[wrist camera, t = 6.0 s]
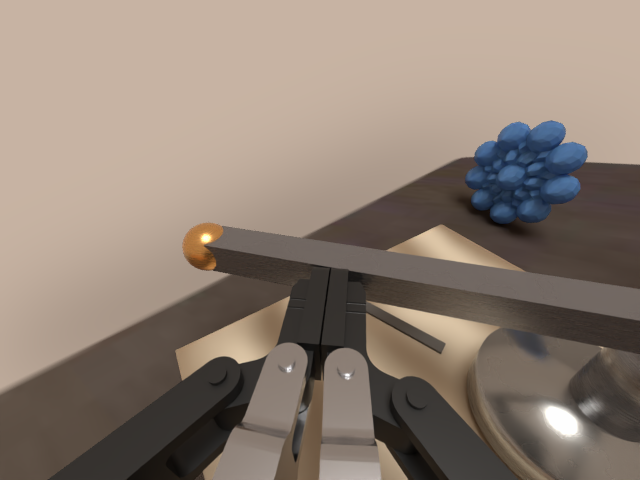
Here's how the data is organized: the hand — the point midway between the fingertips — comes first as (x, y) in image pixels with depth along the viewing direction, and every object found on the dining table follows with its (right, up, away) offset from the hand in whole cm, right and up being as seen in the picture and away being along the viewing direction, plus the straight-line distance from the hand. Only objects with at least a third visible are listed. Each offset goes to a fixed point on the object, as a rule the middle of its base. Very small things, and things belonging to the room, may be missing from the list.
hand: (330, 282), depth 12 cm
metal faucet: (+4, -6, +4) cm, 9 cm away
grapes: (+22, +4, +23) cm, 32 cm away
